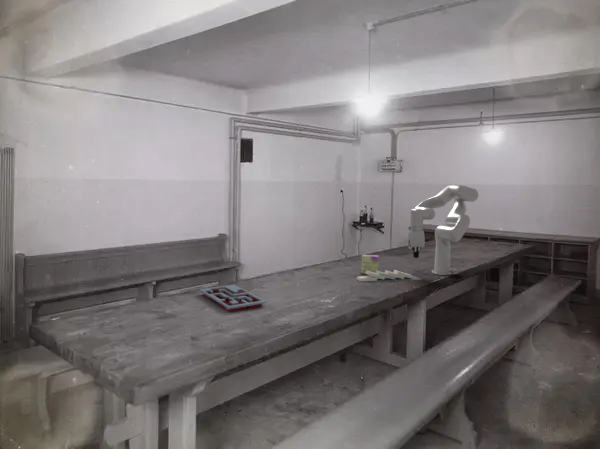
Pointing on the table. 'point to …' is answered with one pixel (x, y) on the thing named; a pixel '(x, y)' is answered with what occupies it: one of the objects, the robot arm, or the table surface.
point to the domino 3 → (385, 275)
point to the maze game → (232, 297)
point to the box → (370, 263)
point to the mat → (397, 279)
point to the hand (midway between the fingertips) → (416, 257)
